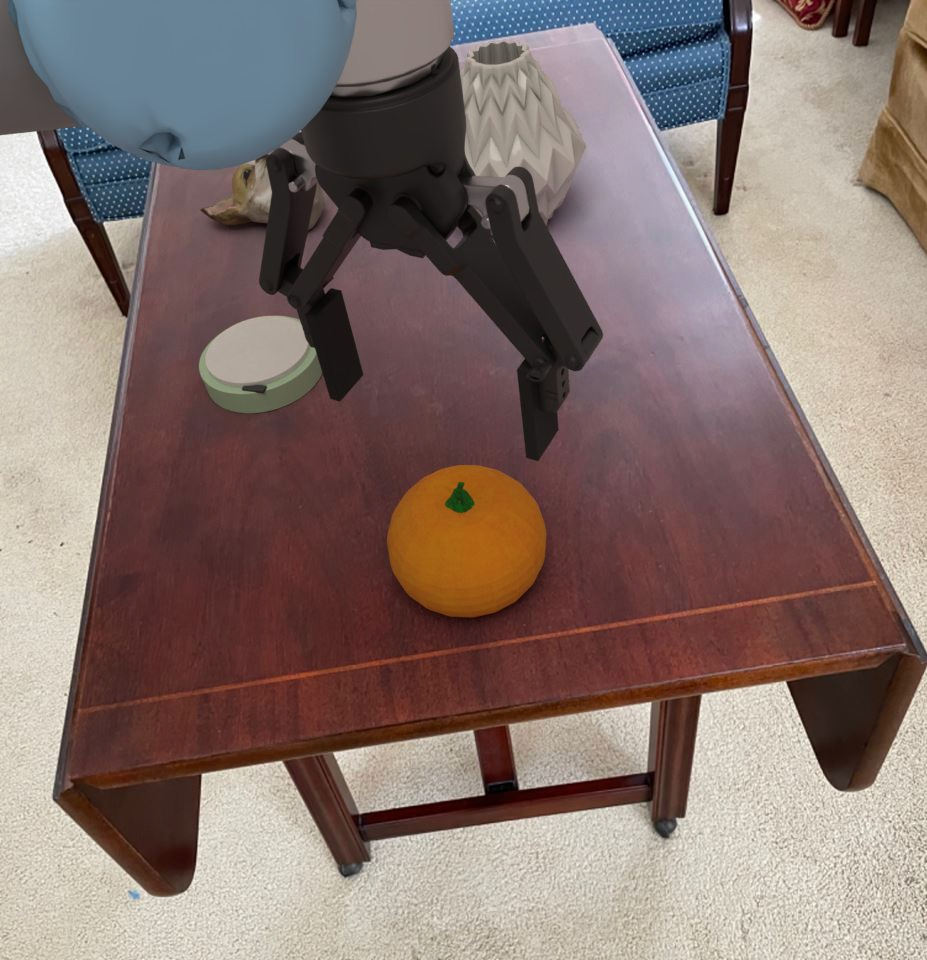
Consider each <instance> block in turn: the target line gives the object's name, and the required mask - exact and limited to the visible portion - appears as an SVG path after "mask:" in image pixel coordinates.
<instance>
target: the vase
mask: <svg viewBox="0 0 927 960" xmlns="http://www.w3.org/2000/svg"><path fill="white" fill-rule="evenodd" d="M464 62H465V63H464V66H463V67H462V68H460V75H461V83H462V91H463V99H464V107H465V115H466V135H465V155H466V158H467V160H468V163H469V165H470V166H471V168H472V170H473V171H474V173H475V175H476V176H488V177H505V176H506V175H507V174H508V173H509V172H510V171H511V170H512V169H513V168H514V167H518V166H519V167H524V168H525V169H527V170H528V171H529V172H530V174H531V175H532V178H533V182H534V188H535V193H536V199H537V204H538V209H539V213H540V215H541V217H542V219H543V221H544V223H545V224H546V226H547V227H548V220H551V218H553V217H554V211H555V210H557V209H559V208H560V207H562V204H563V202H564V200H565V198H566V196H567V194H568V192H569V189H570V187H571V185H572V183H573V180H574V176H575V174H576V172H577V169H578V167H579V164H580V163H581V160H582V158H583V155H584V153H585V152H586V149H587V144H586V142H585V140H584V138H583V136H582V133H581V131H580V127H579V126H578V124H577V122H576V120H575V118H574V116H573V114H572V113H571V112H570V111H569V110H568V109H566V108H565V107H564V106H563V103H562V102H561V99H560V95H559V93H558V90H557V87H556V84H555V83H554V80H553V79H551V77H550V76H549V75H548V74H547V73H545V71H543V69H542V67H541V64H540V61H539V60H537V59H535V58H534V57H533V55H532V51H531V50H530V47H529V44H526V43H525V44H521V43H520V41H519V40H514V41H510V40H507V39H506V38H504V39H502V40H500V41H498V42H497V41H492V40H489V41H488V42H487V43H486V44H485V45H484V44H481V45H480V44H476V46H475V49H474V50H468V51H467V52H466V57H465V59H464ZM473 207H474V206H473ZM474 208H475V209H476V211H477V212H478V213H479V214H480V215H481V217H482V218H483V216H482V214H481V212H480V211H479V210H478V209H477V208H476V207H474ZM490 230H491V229H490ZM491 237H493V234H492V231H491Z"/></svg>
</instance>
